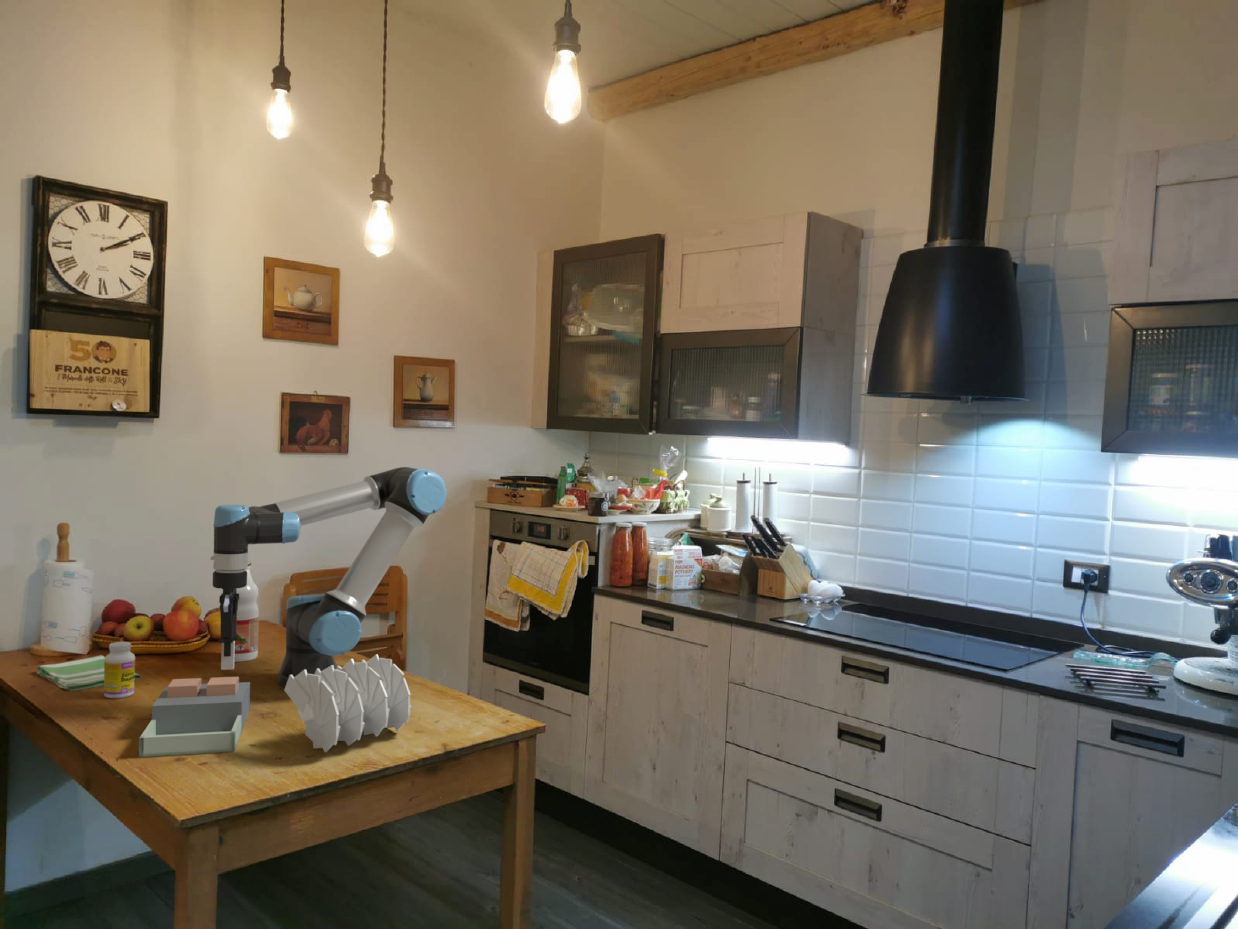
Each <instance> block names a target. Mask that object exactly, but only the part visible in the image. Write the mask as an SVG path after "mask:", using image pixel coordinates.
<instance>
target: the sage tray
mask: <svg viewBox="0 0 1238 929" xmlns="http://www.w3.org/2000/svg"><path fill="white" fill-rule="evenodd" d="M241 718H242V715H238V716H237V718H236V721H235V723H234V725H233V728H232V730H231V731H220V732H202V733H184V734H166V735H156V720H152V719H151V720H150V722H149V723H148V724H147V726H146V728H145V729H144V730H143V732H142V734H141V735H140V737H139V738H138V739H139V740H138V758H152V757H164V756H165V757H169V756H182V755H184V756H185V755H197V754H198V755H201V754H216V753H217V754H218V753H228V752H229V753H234V752H235V751H236V748H237V746H238V742H239V740H240V738H241V734H242V732H241Z"/></svg>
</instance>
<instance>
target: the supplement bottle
mask: <svg viewBox="0 0 1238 929" xmlns="http://www.w3.org/2000/svg"><path fill="white" fill-rule="evenodd" d="M131 648H132V643H131V642H129V641H115V642H111V643H110V644H109V646H108V650H109V653H108V654H107V655H106V656H104V657H105V661H104V685H103V695H104V697H105V698H108V699H123V698H127V697H130V696H132V695H133V694H134V693H135V673H136V672H135V671H136V656H135V654H134V653H133V652H131Z"/></svg>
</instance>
